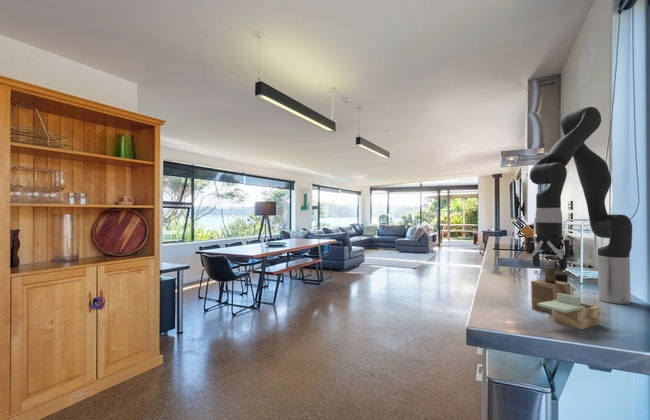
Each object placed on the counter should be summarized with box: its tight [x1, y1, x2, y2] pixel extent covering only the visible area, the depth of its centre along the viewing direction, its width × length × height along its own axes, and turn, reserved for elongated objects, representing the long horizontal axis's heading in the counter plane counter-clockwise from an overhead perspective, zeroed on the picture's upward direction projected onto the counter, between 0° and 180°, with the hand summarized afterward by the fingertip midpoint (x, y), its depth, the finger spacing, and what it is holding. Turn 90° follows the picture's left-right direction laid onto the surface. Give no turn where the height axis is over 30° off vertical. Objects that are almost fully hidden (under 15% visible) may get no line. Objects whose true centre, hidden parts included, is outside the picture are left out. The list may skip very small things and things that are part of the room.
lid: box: [537, 293, 585, 313], centre depth 96 cm, size 9×8×3 cm
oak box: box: [551, 302, 600, 330], centre depth 99 cm, size 9×8×6 cm
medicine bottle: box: [555, 271, 574, 296], centre depth 121 cm, size 7×7×12 cm
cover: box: [530, 266, 571, 315], centre depth 111 cm, size 8×8×16 cm
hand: (549, 268), depth 112 cm, fingers open, 8 cm apart
